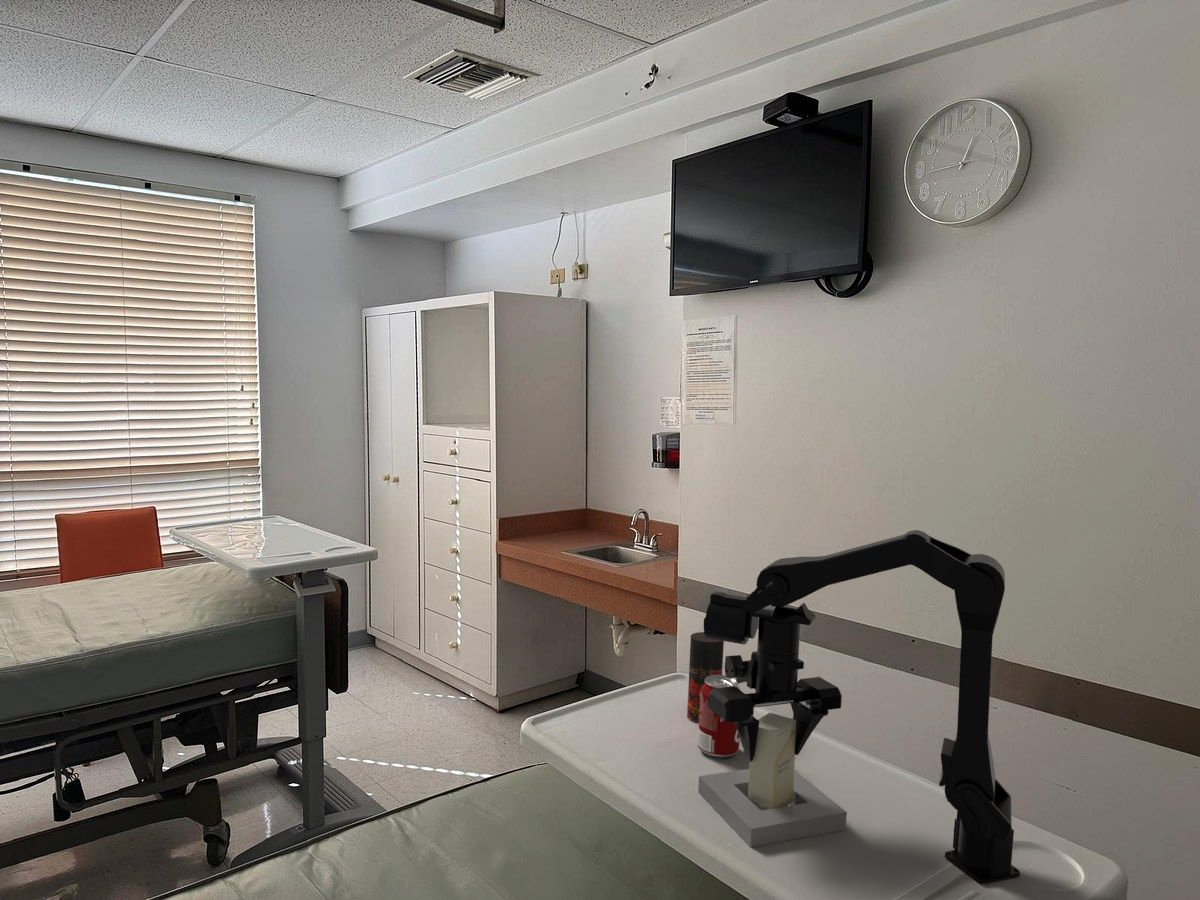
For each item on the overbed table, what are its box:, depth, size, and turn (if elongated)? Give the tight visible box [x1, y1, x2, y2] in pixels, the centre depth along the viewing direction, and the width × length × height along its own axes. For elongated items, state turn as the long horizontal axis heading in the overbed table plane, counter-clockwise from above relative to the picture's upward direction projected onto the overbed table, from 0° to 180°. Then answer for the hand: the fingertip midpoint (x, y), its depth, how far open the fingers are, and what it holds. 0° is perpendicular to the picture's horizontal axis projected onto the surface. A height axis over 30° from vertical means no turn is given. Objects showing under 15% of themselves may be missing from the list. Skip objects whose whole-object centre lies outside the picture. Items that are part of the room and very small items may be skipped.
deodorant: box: [686, 631, 725, 725], centre depth 149 cm, size 6×6×15 cm
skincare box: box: [748, 712, 796, 811], centre depth 117 cm, size 6×4×12 cm
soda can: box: [697, 674, 742, 759], centre depth 135 cm, size 7×7×12 cm
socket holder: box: [697, 768, 848, 848], centre depth 117 cm, size 15×15×2 cm
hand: (772, 756), depth 117 cm, fingers closed on skincare box, 7 cm apart
